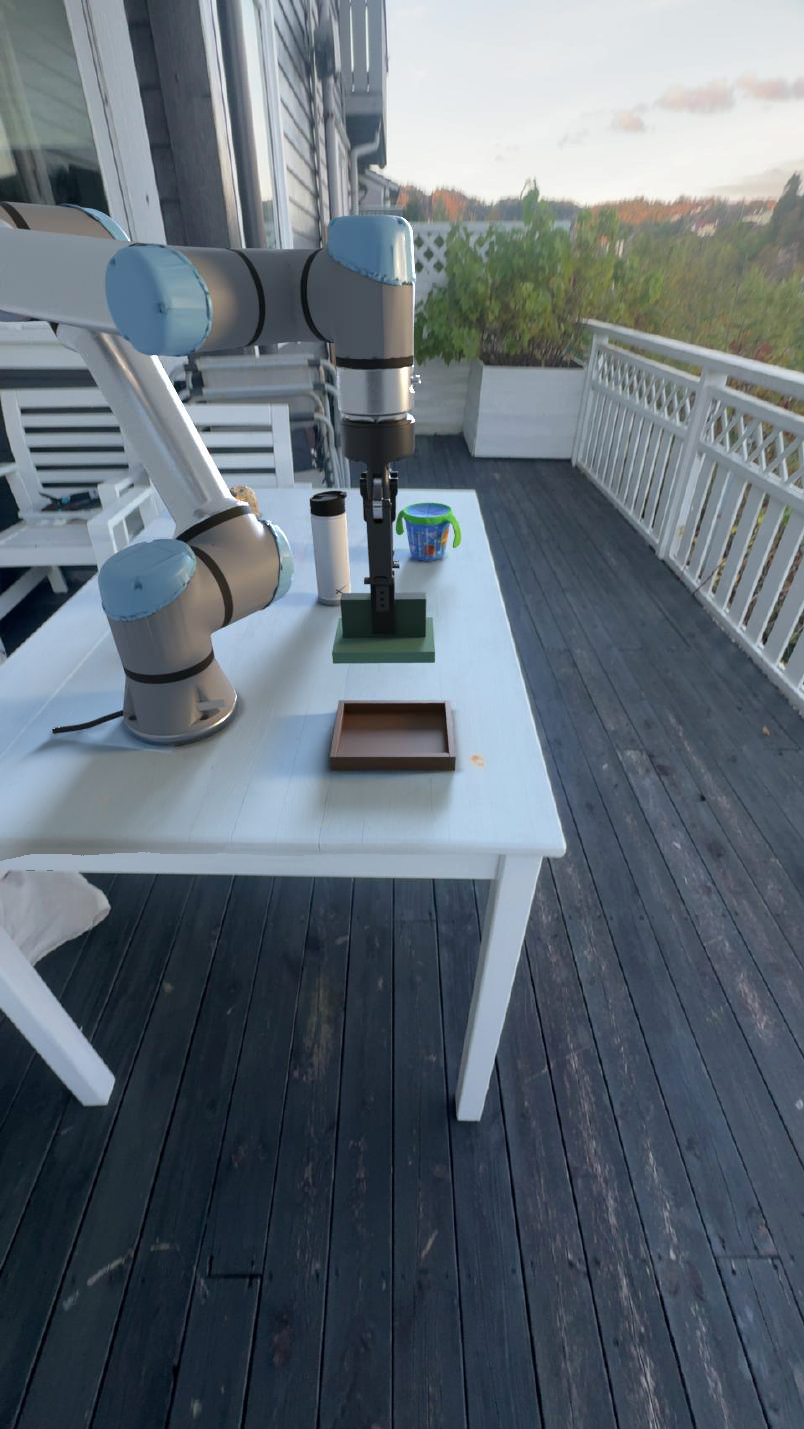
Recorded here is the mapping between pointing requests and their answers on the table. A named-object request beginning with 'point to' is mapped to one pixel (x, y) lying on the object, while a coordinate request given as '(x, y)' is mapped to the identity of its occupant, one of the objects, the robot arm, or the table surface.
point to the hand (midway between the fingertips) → (384, 626)
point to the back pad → (384, 648)
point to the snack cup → (428, 529)
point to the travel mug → (330, 545)
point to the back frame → (393, 735)
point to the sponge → (248, 497)
